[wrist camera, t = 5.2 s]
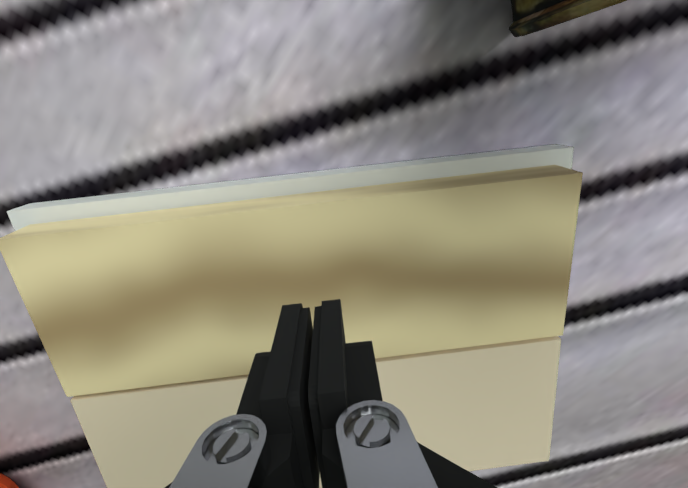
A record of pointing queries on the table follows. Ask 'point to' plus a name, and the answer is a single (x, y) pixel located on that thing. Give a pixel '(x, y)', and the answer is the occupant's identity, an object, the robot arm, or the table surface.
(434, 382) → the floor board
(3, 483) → the clementine
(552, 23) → the book
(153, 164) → the table surface
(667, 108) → the table surface
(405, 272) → the honey plank
